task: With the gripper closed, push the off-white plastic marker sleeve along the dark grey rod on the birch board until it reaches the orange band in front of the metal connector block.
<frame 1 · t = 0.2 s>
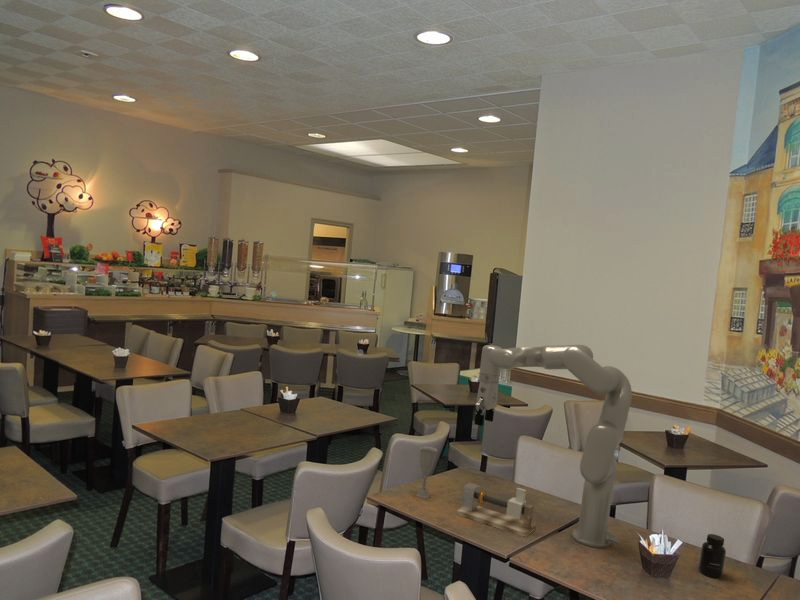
hand: (483, 422, 239), 31 cm above the table, fingers open, 9 cm apart
beige rod holder: (495, 521, 225), on the table
dark grey rod: (497, 502, 225), point 6 cm above the table
supplement bottle: (710, 574, 202), on the table
sleeve: (517, 501, 221), point 9 cm above the table, slide at 0.0 cm
chalice: (422, 495, 243), on the table
connector: (474, 498, 229), point 6 cm above the table
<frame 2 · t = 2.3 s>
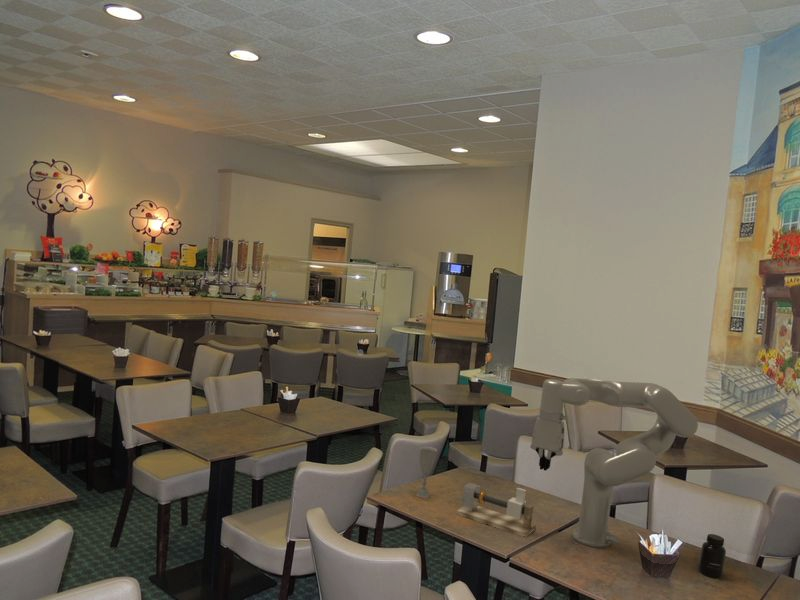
hand: (544, 468, 216), 23 cm above the table, fingers closed
nothing on the table moved.
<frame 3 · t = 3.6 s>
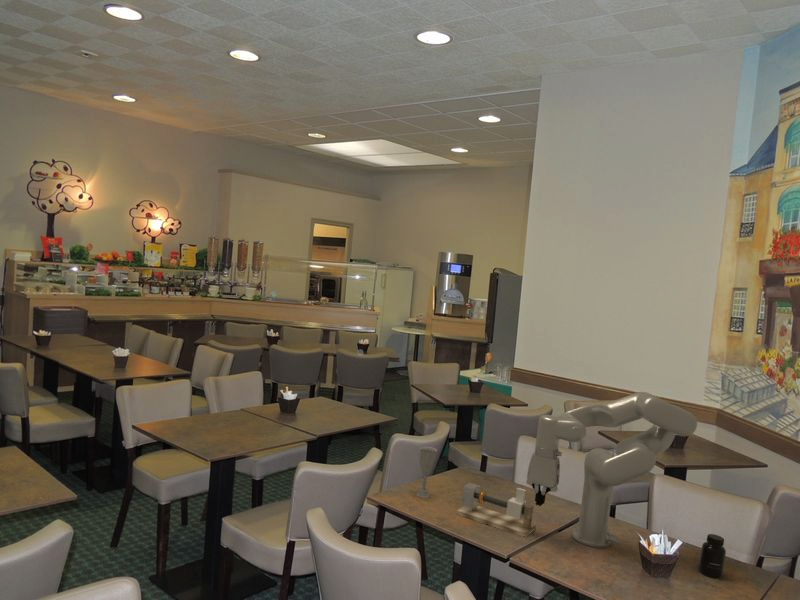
hand: (539, 504, 216), 11 cm above the table, fingers closed
nothing on the table moved.
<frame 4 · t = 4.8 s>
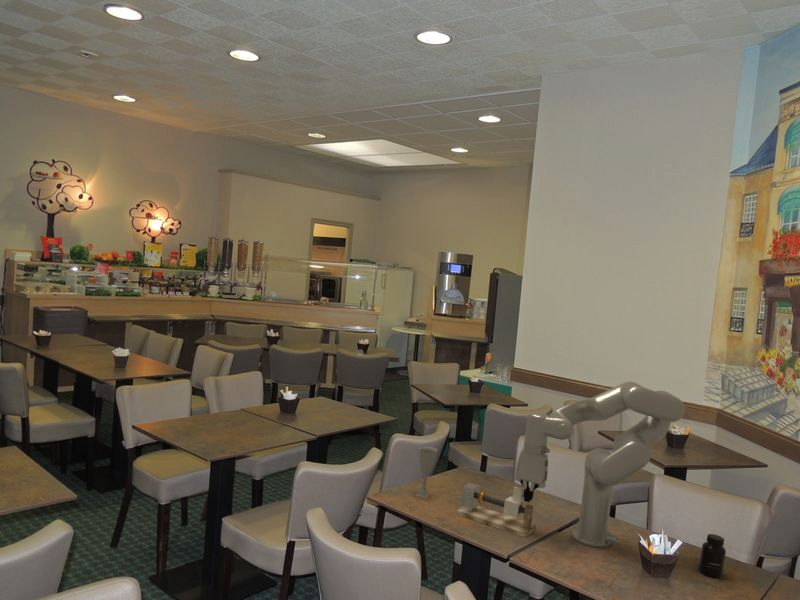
hand: (527, 500, 219), 11 cm above the table, fingers closed
sleeve: (514, 500, 221), point 9 cm above the table, slide at 1.1 cm, touching gripper
everything else where it was.
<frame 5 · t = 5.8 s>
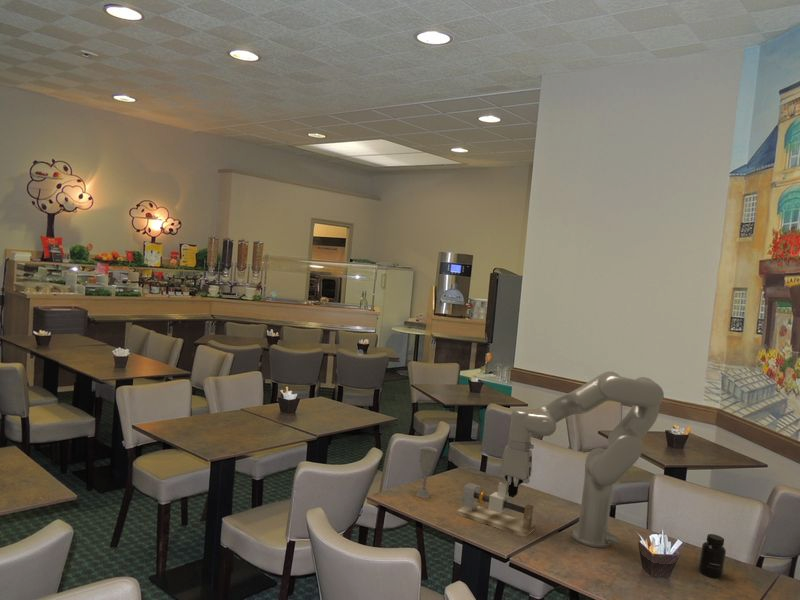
hand: (512, 495, 222), 11 cm above the table, fingers closed
sleeve: (499, 496, 224), point 9 cm above the table, slide at 6.8 cm, touching gripper
everything else where it was.
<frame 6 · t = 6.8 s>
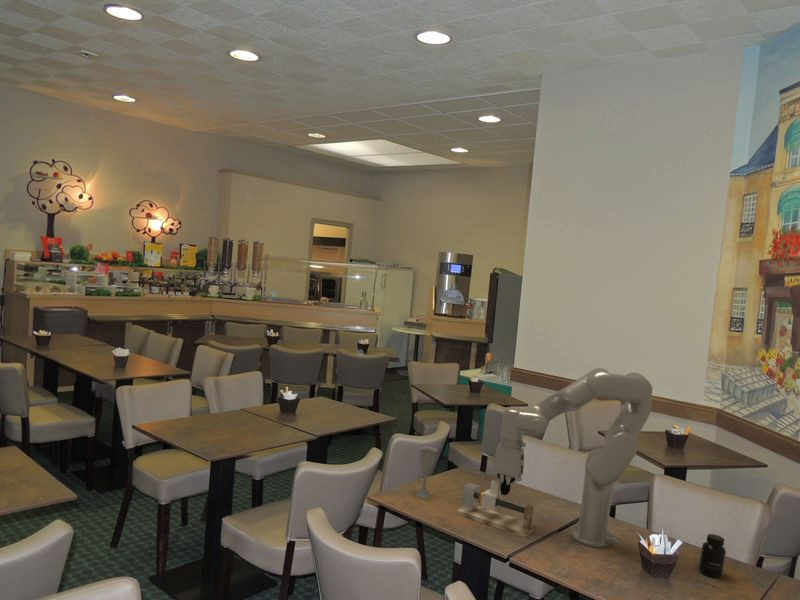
hand: (504, 493, 223), 11 cm above the table, fingers closed
sleeve: (491, 493, 226), point 9 cm above the table, slide at 9.7 cm, touching gripper
everything else where it was.
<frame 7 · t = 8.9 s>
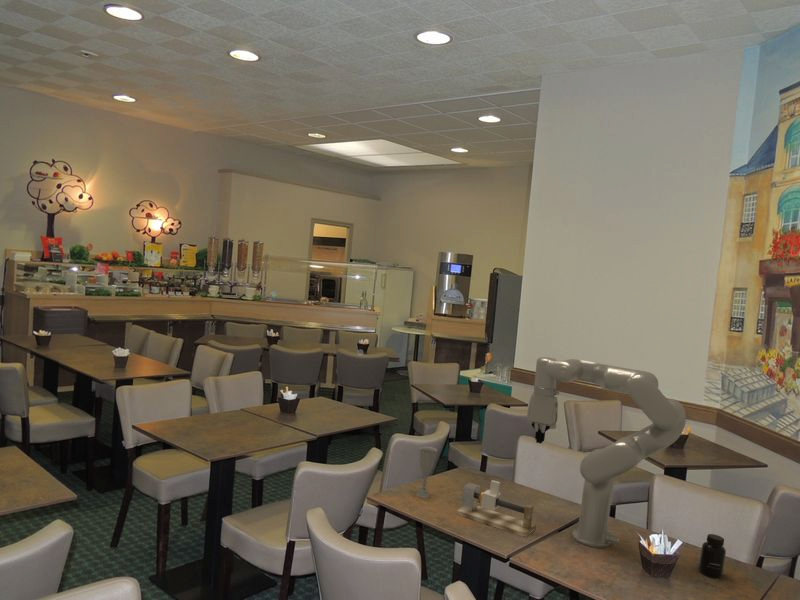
hand: (539, 442, 228), 29 cm above the table, fingers closed
sleeve: (491, 493, 226), point 9 cm above the table, slide at 9.7 cm
everything else where it was.
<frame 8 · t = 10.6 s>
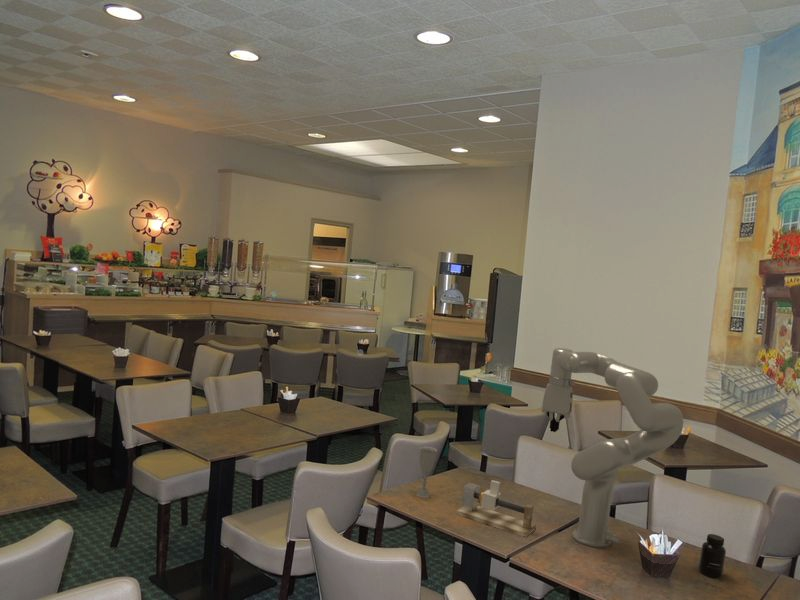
hand: (553, 431, 234), 32 cm above the table, fingers closed
nothing on the table moved.
at the end: sleeve slide at 9.7 cm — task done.
